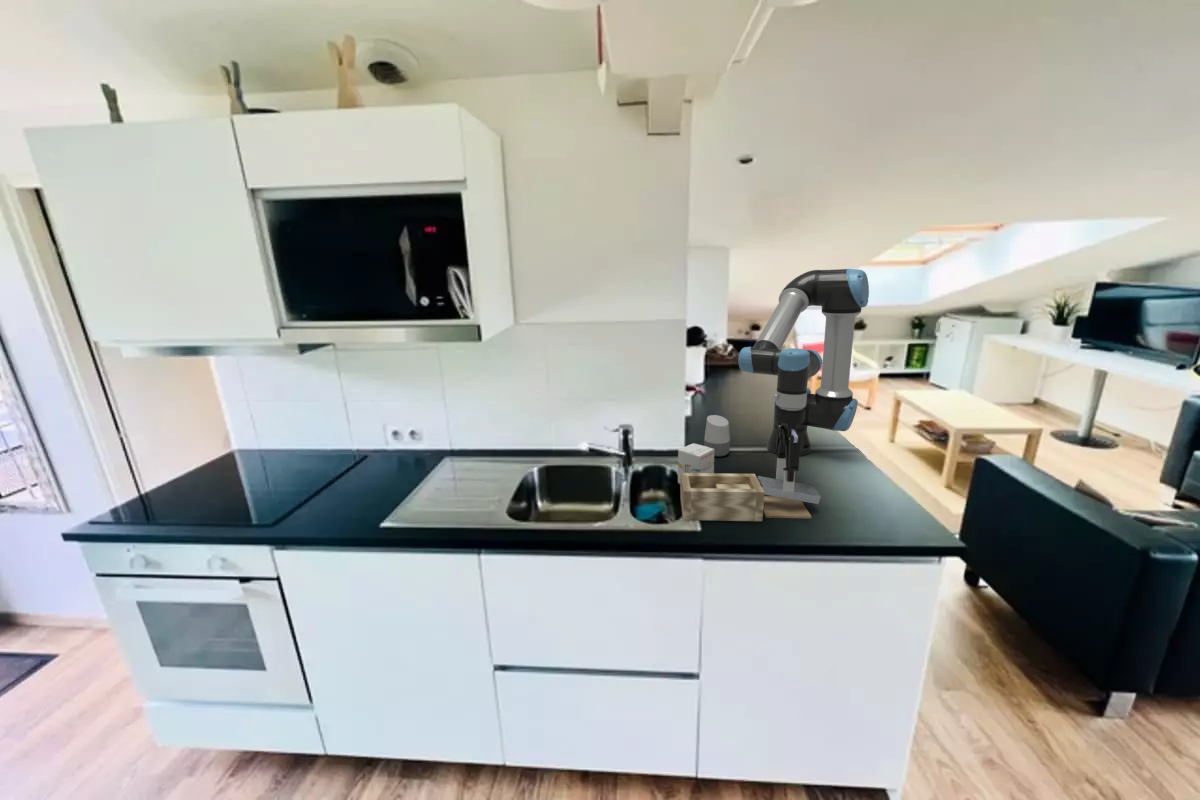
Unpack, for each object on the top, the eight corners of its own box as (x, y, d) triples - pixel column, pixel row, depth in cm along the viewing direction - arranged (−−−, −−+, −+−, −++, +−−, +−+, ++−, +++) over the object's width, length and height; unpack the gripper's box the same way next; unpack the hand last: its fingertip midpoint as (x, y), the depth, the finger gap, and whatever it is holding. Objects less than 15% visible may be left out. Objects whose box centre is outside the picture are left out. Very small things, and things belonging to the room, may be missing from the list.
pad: (756, 497, 144) (756, 495, 144) (798, 498, 143) (798, 496, 143) (765, 517, 133) (766, 515, 133) (811, 518, 132) (811, 516, 132)
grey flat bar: (811, 493, 139) (814, 485, 138) (818, 504, 134) (820, 496, 133) (756, 483, 140) (758, 475, 139) (760, 493, 134) (762, 486, 134)
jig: (753, 500, 143) (754, 473, 140) (762, 521, 131) (764, 492, 129) (680, 499, 145) (680, 473, 143) (683, 519, 133) (683, 491, 131)
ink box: (692, 474, 162) (693, 442, 159) (714, 482, 156) (715, 448, 153) (676, 483, 156) (677, 449, 153) (698, 491, 150) (699, 455, 147)
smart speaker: (718, 460, 172) (719, 423, 169) (698, 453, 179) (699, 417, 176) (734, 454, 178) (736, 417, 174) (714, 447, 185) (715, 412, 181)
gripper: (767, 397, 140) (762, 470, 146) (786, 417, 121) (780, 501, 127) (794, 397, 139) (788, 471, 145) (817, 417, 120) (809, 501, 126)
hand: (784, 485), depth 136 cm, fingers open, 7 cm apart
